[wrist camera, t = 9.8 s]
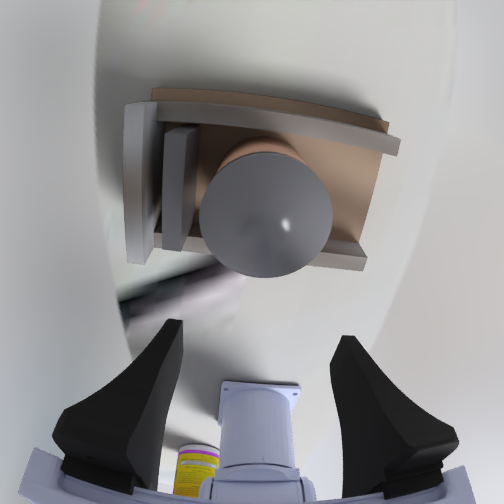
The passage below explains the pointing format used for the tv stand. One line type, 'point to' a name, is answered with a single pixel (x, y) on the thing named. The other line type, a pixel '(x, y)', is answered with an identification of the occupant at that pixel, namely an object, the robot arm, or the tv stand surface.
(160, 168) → the tray
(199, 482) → the supplement bottle
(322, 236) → the jar
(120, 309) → the tv stand surface
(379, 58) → the tv stand surface
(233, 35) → the tv stand surface
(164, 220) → the pusher plate
